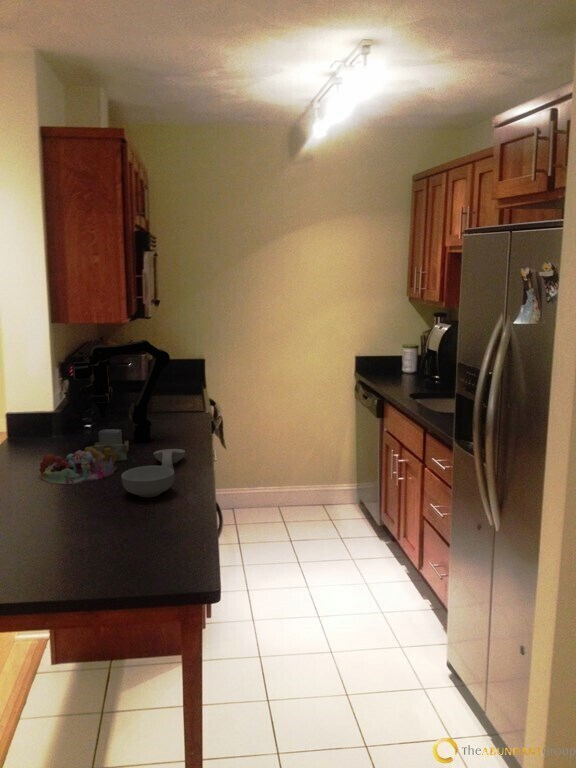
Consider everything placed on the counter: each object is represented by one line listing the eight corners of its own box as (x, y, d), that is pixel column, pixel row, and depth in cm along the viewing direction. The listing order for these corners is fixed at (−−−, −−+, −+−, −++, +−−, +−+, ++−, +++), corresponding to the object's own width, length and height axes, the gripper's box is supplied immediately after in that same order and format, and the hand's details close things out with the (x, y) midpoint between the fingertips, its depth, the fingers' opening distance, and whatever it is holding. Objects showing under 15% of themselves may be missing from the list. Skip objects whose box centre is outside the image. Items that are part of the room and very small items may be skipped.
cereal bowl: (175, 483, 236) (174, 463, 235) (175, 500, 220) (174, 479, 219) (123, 486, 233) (122, 466, 232) (120, 504, 217) (119, 482, 216)
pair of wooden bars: (128, 446, 280) (128, 432, 279) (126, 460, 262) (125, 444, 261) (95, 448, 278) (94, 433, 277) (91, 462, 260) (90, 446, 259)
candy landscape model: (79, 460, 263) (78, 437, 261) (129, 468, 253) (128, 444, 251) (29, 480, 241) (27, 454, 239) (81, 490, 231) (79, 463, 229)
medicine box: (122, 450, 275) (121, 429, 273) (119, 453, 270) (117, 432, 269) (103, 450, 276) (102, 428, 274) (99, 453, 271) (98, 431, 270)
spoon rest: (154, 458, 266) (153, 439, 264) (185, 456, 267) (185, 438, 266) (151, 477, 243) (150, 458, 241) (185, 476, 244) (184, 456, 243)
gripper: (83, 374, 285) (86, 410, 289) (76, 382, 267) (80, 422, 271) (110, 372, 287) (114, 409, 290) (106, 381, 269) (109, 420, 272)
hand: (104, 414), depth 281 cm, fingers open, 9 cm apart
